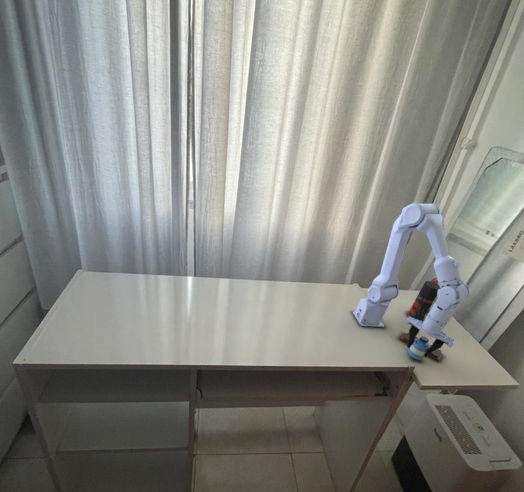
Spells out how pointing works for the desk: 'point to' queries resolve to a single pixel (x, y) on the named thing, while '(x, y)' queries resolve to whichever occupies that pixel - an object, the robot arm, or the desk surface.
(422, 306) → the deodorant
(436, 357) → the snack bar
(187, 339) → the desk surface
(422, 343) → the bottle
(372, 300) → the robot arm
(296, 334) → the desk surface
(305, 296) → the desk surface
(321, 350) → the desk surface
